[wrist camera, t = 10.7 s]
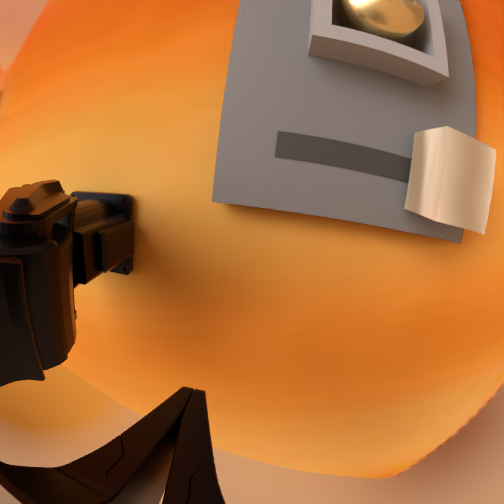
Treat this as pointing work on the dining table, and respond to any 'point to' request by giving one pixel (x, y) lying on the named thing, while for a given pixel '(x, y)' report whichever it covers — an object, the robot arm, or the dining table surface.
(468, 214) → the tan rectangular prism
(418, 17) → the button
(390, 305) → the dining table surface
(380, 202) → the panel
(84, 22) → the dining table surface
